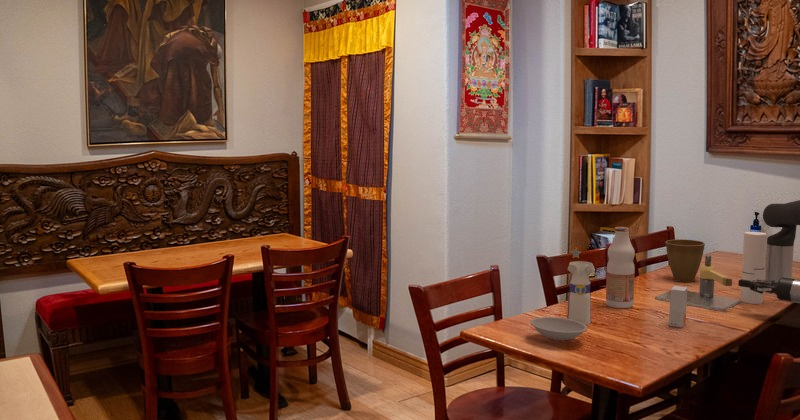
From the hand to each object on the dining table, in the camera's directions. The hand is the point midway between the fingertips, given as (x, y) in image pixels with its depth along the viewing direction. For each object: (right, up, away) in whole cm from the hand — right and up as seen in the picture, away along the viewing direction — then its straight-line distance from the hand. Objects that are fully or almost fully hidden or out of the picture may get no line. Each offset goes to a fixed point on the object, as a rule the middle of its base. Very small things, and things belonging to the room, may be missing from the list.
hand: (739, 282), depth 233 cm
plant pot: (+1, -5, +50) cm, 50 cm away
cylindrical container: (+12, -9, +15) cm, 21 cm away
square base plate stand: (-7, -8, +17) cm, 20 cm away
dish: (-68, -15, -28) cm, 75 cm away
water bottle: (-57, -12, -9) cm, 59 cm away
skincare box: (-26, -12, -13) cm, 32 cm away
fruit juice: (-37, -9, +11) cm, 40 cm away
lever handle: (-3, -1, +11) cm, 12 cm away
